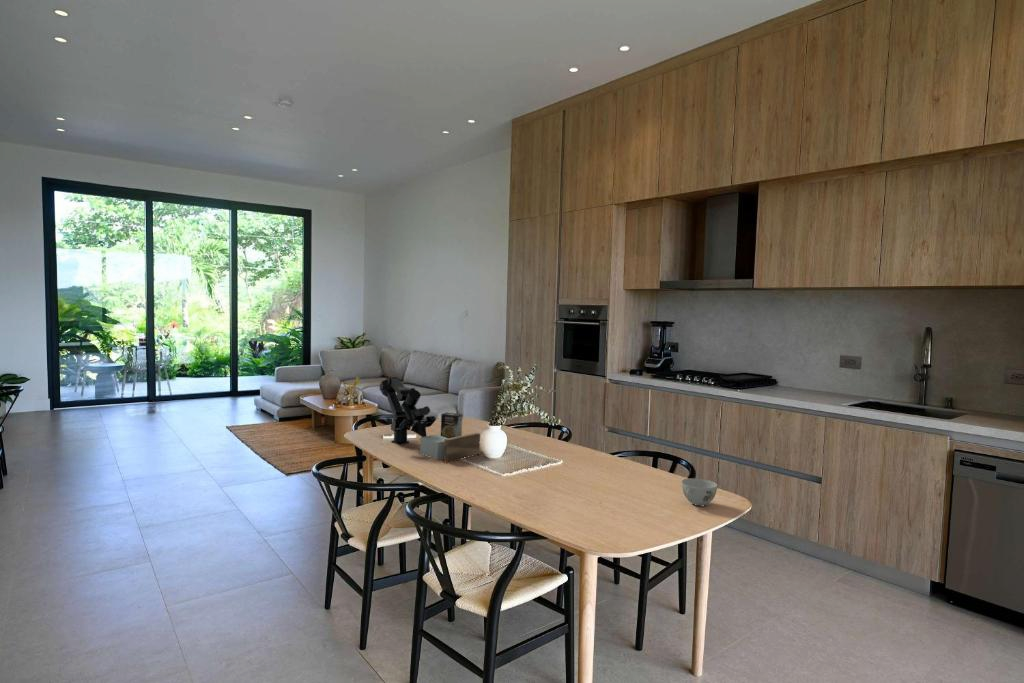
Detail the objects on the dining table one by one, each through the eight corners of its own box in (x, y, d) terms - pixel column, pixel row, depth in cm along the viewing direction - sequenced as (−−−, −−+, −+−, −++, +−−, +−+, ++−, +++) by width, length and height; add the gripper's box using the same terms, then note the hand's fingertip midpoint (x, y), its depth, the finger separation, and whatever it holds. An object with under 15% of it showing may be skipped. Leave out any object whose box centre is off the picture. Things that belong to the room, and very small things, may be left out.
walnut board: (443, 461, 250) (444, 439, 249) (475, 453, 265) (476, 432, 264) (447, 462, 248) (448, 440, 247) (479, 454, 263) (480, 433, 263)
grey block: (420, 454, 261) (420, 437, 261) (435, 451, 267) (436, 434, 267) (437, 460, 252) (437, 442, 251) (452, 457, 258) (453, 439, 258)
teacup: (691, 496, 215) (692, 475, 214) (722, 505, 205) (724, 483, 205) (670, 504, 204) (671, 482, 204) (702, 514, 195) (703, 491, 195)
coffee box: (439, 446, 276) (440, 414, 275) (444, 443, 282) (446, 411, 281) (456, 448, 274) (457, 415, 273) (461, 445, 280) (462, 413, 279)
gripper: (403, 402, 260) (418, 430, 253) (434, 399, 274) (448, 425, 267) (392, 417, 265) (406, 444, 259) (423, 413, 279) (437, 438, 273)
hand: (425, 437), depth 264 cm, fingers closed
